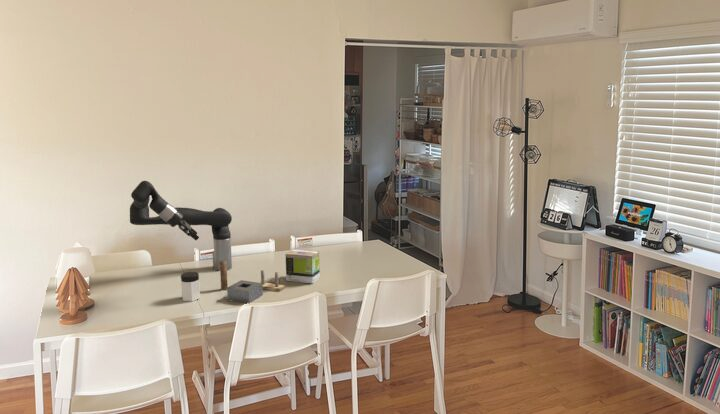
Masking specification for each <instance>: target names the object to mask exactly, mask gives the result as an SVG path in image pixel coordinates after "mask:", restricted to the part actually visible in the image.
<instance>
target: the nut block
mask: <svg viewBox="0 0 720 414" xmlns="http://www.w3.org/2000/svg"><path fill="white" fill-rule="evenodd" d="M226 294H227V295H226V296H227V301H231V300H232V301H233V302H237V301H238V302H237V303H243V304H248V303H247V302H251V303H253V302H255V300H257V299H259V298H261V297H262V296H264V289H263V283H260V282H255V281H249V280H243V279H241V280H238V281H237V282H236V283H233V284H232V285H228V288H227V290H226Z"/></svg>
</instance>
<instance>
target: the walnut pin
mask: <svg viewBox="0 0 720 414" xmlns="http://www.w3.org/2000/svg"><path fill="white" fill-rule="evenodd" d="M219 277H220V290H221V291H227V288H228V287H229V285H228V283H229V282H228V270H227V262H226V261H221V262H220V273H219Z"/></svg>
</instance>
